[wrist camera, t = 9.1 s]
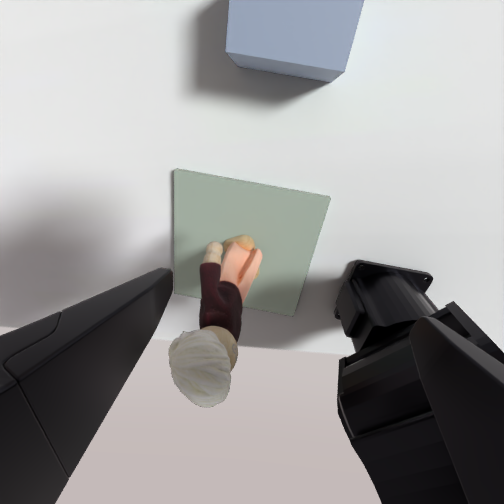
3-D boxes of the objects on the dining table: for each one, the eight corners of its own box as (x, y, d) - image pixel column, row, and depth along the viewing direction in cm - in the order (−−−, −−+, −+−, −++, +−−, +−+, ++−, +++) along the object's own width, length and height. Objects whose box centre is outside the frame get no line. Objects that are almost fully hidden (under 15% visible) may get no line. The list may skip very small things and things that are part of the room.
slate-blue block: (352, -4, 14) (376, -47, 10) (330, 82, 16) (344, 71, 12) (246, -21, 14) (234, -69, 10) (238, 67, 16) (225, 51, 12)
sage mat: (329, 196, 19) (330, 198, 18) (293, 312, 25) (293, 316, 24) (176, 168, 19) (173, 169, 18) (176, 289, 25) (174, 293, 24)
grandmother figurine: (274, 283, 22) (266, 443, 11) (236, 291, 23) (193, 446, 12) (248, 205, 19) (199, 322, 8) (204, 218, 20) (106, 338, 9)
